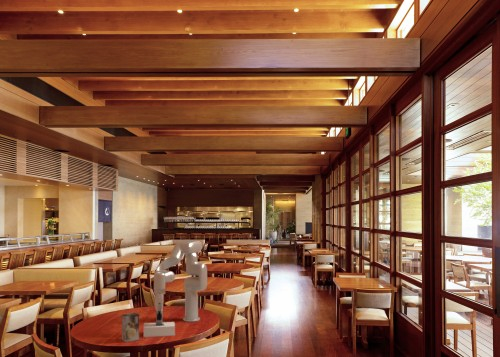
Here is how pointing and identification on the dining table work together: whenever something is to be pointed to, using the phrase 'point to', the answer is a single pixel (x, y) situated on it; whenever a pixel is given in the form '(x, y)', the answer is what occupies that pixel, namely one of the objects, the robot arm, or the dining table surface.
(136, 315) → the coffee box
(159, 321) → the marker peg
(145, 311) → the dining table surface
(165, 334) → the socket block
